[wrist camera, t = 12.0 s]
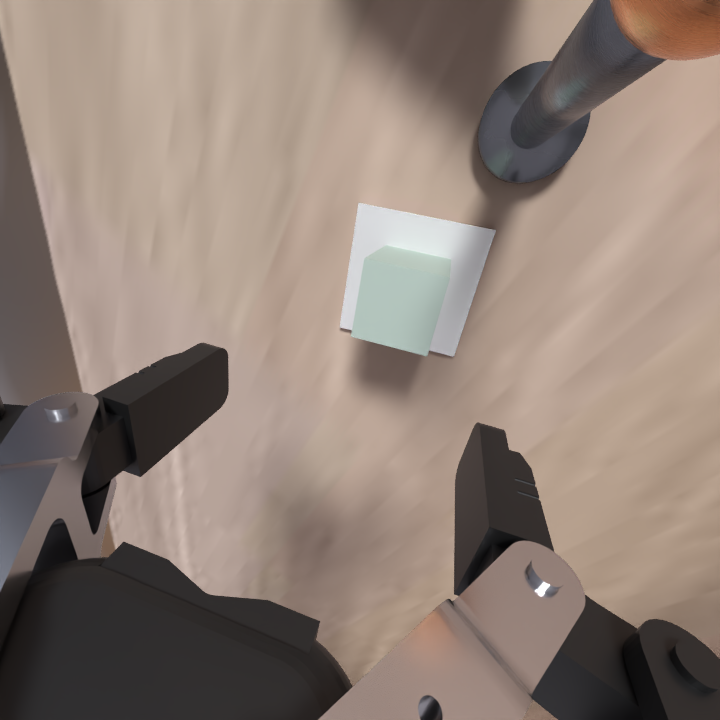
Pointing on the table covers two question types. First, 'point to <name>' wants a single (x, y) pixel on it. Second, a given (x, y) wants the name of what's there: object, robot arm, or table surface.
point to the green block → (400, 298)
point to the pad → (426, 237)
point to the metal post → (587, 80)
